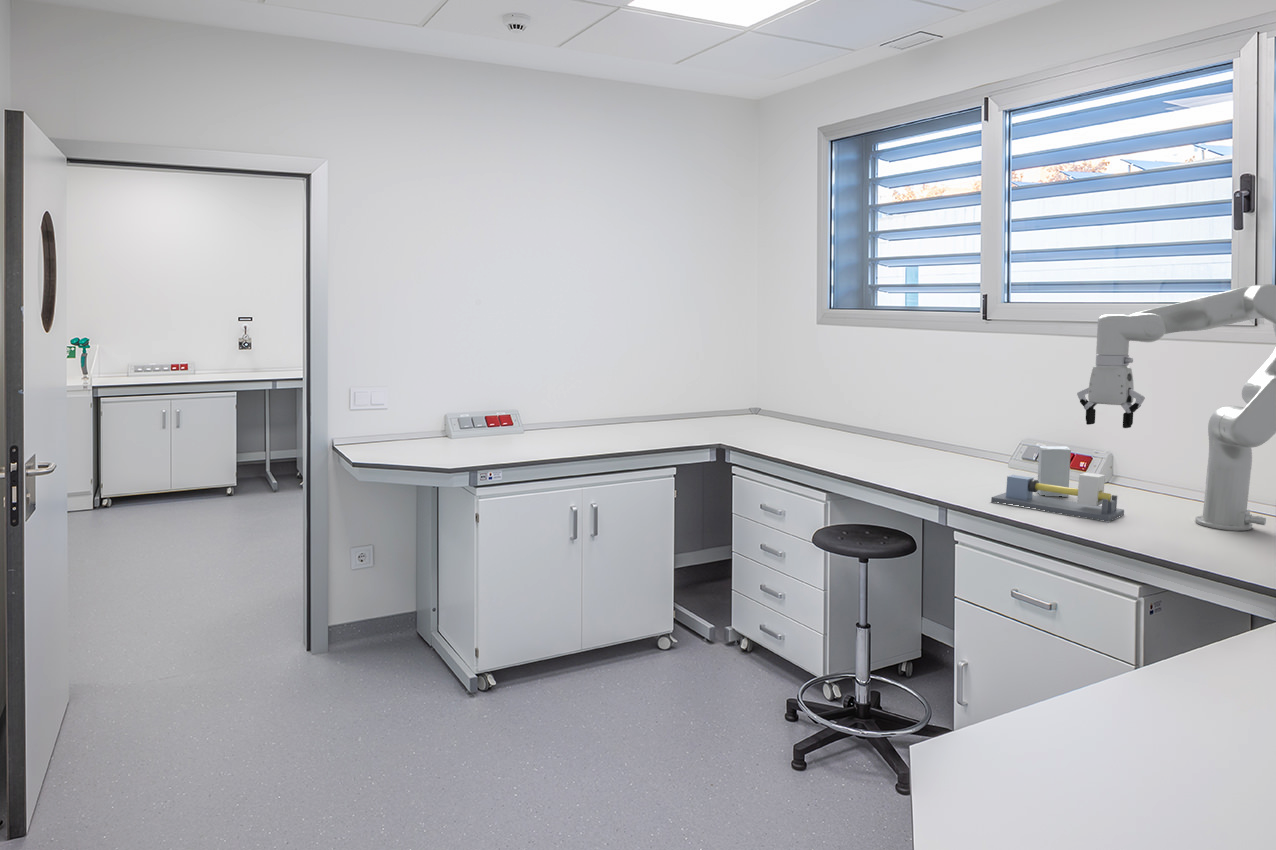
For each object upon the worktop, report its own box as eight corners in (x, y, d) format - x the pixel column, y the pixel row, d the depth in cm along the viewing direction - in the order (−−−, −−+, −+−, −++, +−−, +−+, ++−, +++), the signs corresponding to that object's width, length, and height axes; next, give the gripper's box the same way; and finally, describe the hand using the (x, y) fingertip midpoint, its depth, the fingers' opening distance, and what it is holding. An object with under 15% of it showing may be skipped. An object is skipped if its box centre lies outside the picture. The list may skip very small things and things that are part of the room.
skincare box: (1064, 493, 273) (1068, 446, 271) (1068, 498, 267) (1072, 449, 265) (1035, 492, 275) (1038, 444, 273) (1038, 496, 269) (1042, 447, 267)
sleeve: (1102, 503, 246) (1105, 475, 245) (1096, 506, 242) (1098, 477, 241) (1083, 500, 249) (1085, 472, 248) (1077, 503, 246) (1079, 474, 245)
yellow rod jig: (1123, 514, 245) (1126, 488, 244) (1108, 522, 237) (1110, 494, 236) (1008, 496, 268) (1010, 471, 267) (991, 502, 260) (992, 477, 259)
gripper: (1152, 362, 229) (1149, 427, 232) (1087, 359, 244) (1084, 421, 246) (1138, 363, 225) (1134, 430, 227) (1072, 361, 239) (1069, 424, 242)
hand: (1108, 425), depth 237 cm, fingers open, 9 cm apart
